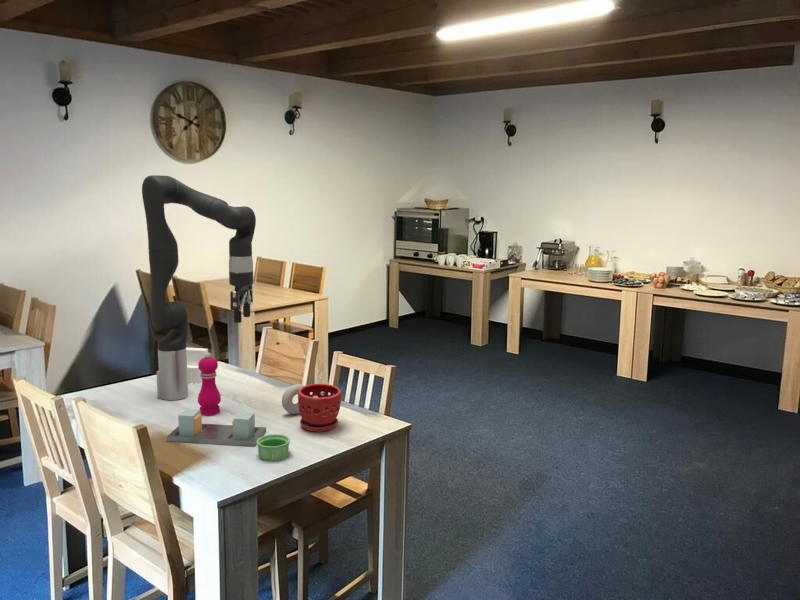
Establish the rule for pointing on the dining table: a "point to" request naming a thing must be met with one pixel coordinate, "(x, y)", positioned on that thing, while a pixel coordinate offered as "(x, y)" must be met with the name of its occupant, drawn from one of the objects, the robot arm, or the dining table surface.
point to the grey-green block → (244, 426)
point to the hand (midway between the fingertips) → (242, 319)
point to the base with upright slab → (194, 363)
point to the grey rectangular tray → (217, 436)
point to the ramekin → (273, 446)
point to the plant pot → (319, 407)
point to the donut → (288, 397)
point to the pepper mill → (208, 386)
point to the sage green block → (190, 422)
